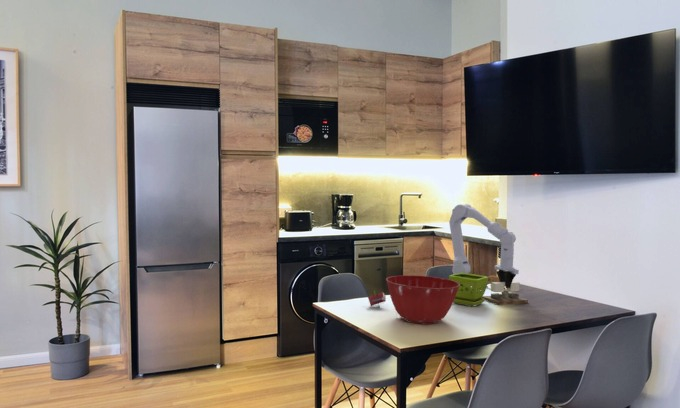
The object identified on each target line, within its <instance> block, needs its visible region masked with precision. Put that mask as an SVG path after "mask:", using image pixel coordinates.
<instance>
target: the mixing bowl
mask: <svg viewBox="0 0 680 408" xmlns="http://www.w3.org/2000/svg"><path fill="white" fill-rule="evenodd" d="M385 281H386V283H387V287H388V293H389V296H390V297H389V298H390V299H391V301H392V304H393V307H394V309H395V312H396V313H397V314H398V315H399V317H401V318H403V320H404V321H406V322H410V323H413V324H420V325H421V324H422V325H426V324H427V325H429V324H437V323H438V322H440V321H441V320H443V319H444V318H445V317H446V316H447V314H448V313H449V312H450V310H451V308H452V305H453V304H454V303H453V302H454V299H455V297H456V294H457V291H458V287H459V286H460V284H459V283H458V282H455V281H452V280H449V278H442V277H437V276H427V275H415V274H414V275H413V274H412V275H408V274H407V275H392V276H388V277H386V278H385Z"/></svg>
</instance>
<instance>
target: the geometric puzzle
mask: <svg viewBox="0 0 680 408" xmlns="http://www.w3.org/2000/svg"><path fill="white" fill-rule="evenodd" d="M386 297H387V295H385V293H384V292H383V291H380V292H377V291H373V294H372V293H371V294H370V295H368V296H367V299H368V302H369V305H370V306H371V307H373V306H374V307H376V306H377V307H378V308H380V307H381V306H380V305H382V304H384V303H385V302H386Z"/></svg>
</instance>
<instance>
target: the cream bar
mask: <svg viewBox="0 0 680 408" xmlns="http://www.w3.org/2000/svg"><path fill="white" fill-rule="evenodd" d="M504 286H505V282H490V291H491V292H493V293H502V292H504V290H507V291H509V292H520V281H514V280H513V281H512V283H511V287H510V288H506V286H505V287H504ZM504 288H505V289H504Z"/></svg>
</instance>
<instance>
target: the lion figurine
mask: <svg viewBox="0 0 680 408" xmlns="http://www.w3.org/2000/svg"><path fill="white" fill-rule="evenodd" d="M487 277H488V283H487V287H486V289H487V288H489V286H488V285H489V284H491V282H500V280H499V277H498V275H497V276H496V275H489V276H487ZM504 290H506V286H504Z"/></svg>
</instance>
